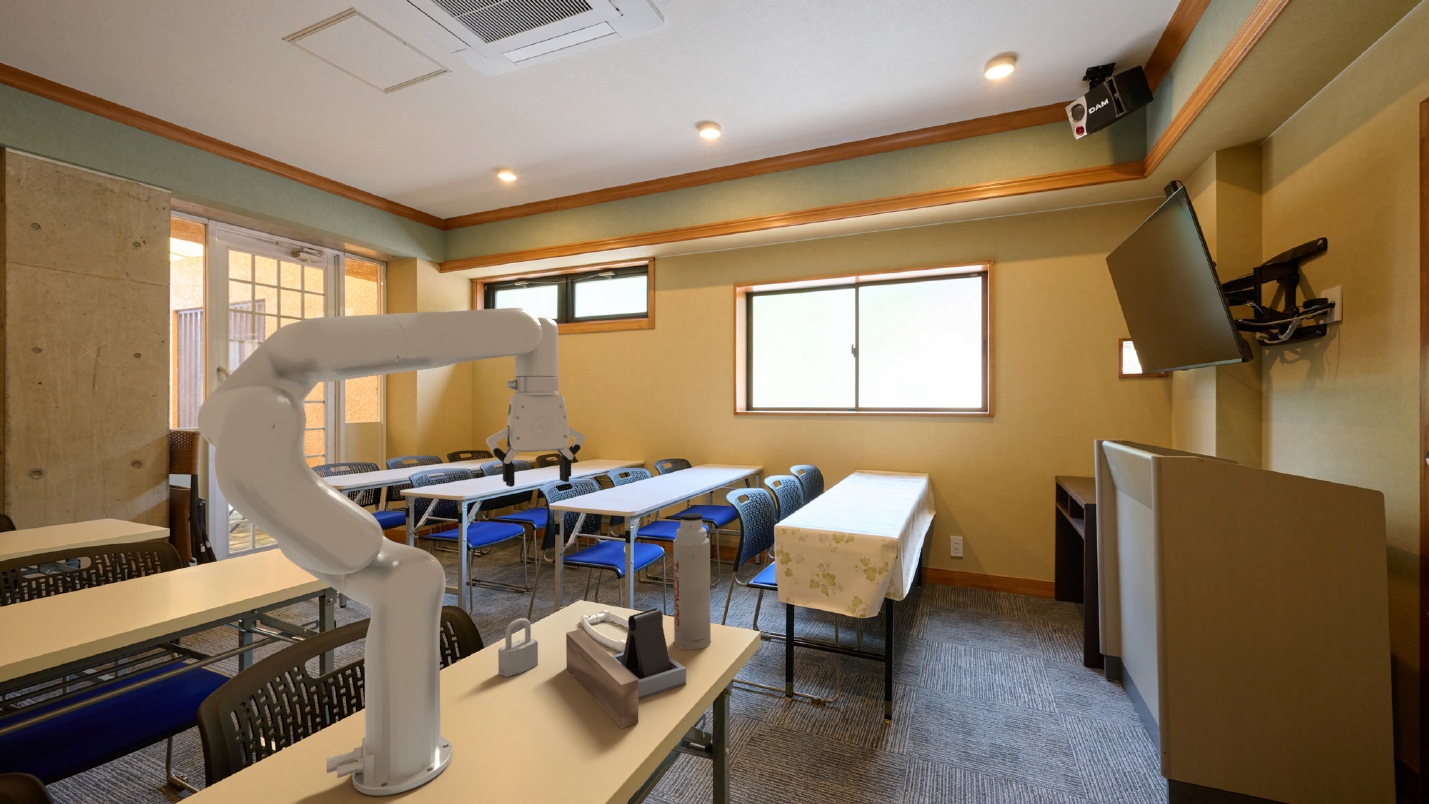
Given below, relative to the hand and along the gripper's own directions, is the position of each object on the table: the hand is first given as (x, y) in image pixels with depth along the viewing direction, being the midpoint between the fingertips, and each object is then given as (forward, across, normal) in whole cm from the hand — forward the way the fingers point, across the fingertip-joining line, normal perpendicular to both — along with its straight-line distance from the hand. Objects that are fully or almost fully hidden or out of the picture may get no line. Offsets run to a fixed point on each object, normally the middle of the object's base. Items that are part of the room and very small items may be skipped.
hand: (537, 483), depth 101 cm
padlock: (+39, 0, +14) cm, 41 cm away
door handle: (+39, +23, +19) cm, 49 cm away
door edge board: (+38, +10, -4) cm, 40 cm away
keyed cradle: (+38, +19, -4) cm, 43 cm away
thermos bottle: (+38, +35, +5) cm, 52 cm away
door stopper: (+38, +19, -4) cm, 43 cm away
